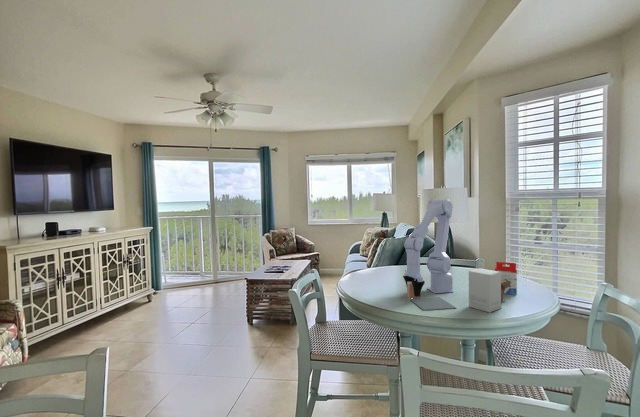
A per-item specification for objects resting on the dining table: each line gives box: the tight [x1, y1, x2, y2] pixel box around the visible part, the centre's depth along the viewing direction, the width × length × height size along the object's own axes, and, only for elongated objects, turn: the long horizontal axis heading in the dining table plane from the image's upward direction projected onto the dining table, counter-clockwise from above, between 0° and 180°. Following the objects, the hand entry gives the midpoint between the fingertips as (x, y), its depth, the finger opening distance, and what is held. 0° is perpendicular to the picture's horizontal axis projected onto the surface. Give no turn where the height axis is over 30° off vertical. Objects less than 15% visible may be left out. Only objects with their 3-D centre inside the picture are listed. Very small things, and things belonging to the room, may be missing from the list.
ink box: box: [494, 261, 518, 296], centre depth 148 cm, size 8×5×15 cm, turn 65°
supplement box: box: [468, 267, 502, 313], centre depth 129 cm, size 9×9×15 cm
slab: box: [406, 282, 421, 299], centre depth 143 cm, size 5×3×7 cm, turn 97°
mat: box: [408, 296, 457, 311], centre depth 134 cm, size 14×14×1 cm
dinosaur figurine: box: [501, 279, 511, 303], centre depth 137 cm, size 14×6×9 cm, turn 122°
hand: (413, 293), depth 143 cm, fingers open, 7 cm apart
